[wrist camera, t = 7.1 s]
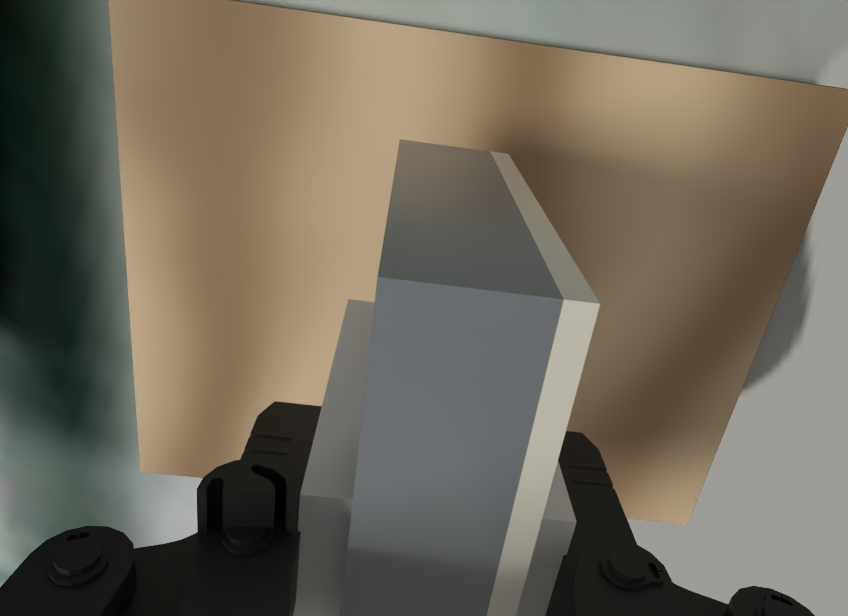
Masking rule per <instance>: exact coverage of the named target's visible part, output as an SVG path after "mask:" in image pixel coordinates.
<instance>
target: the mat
mask: <svg viewBox="0 0 848 616" xmlns="http://www.w3.org/2000/svg"><path fill="white" fill-rule="evenodd" d="M108 2H109V17H110V31H111V46H112V61H113V75H114V90H115V105H116V119H117V134H118V149H119V163H120V178H121V193H122V207H123V222H124V237H125V251H126V266H127V281H128V295H129V310H130V325H131V339H132V354H133V369H134V383H135V398H136V413H137V427H138V442H139V457H140V471H141V472H148V473H158V474H168V475H179V476H189V477H200V478H204V476H206V475H207V474H208V473H210V472H211V471H212V470H214V469H215V468H216V467H218V466H220V465H223V464H226V463H229V462H231V461H234V460H240V459H241V456H242V454H243V452H244V449H245V446H246V444H247V441H248V438H249V437H250V433H251V431H252V428H253V426H254V423H255V421H256V418H257V416H258V415H259V414H260V413H261V412H263V411H264V410H265V409H266V408H267V407H268V406H270V405H271V404H272V403H273V402H274V401H278V402H287V403H296V404H305V405H315V406H322V403H323V399H324V395H325V391H326V387H327V383H328V379H329V375H330V371H331V367H332V363H333V359H334V355H335V351H336V347H337V343H338V339H339V335H340V331H341V326H342V322H343V318H344V314H345V310H346V306H347V302H348V299H352V300H360V301H369V302H375V294H376V285H377V277H378V270H379V264H380V258H381V252H382V246H383V240H384V233H385V227H386V221H387V215H388V209H389V203H390V197H391V190H392V184H393V178H394V172H395V166H396V160H397V153H398V147H399V141H400V139H402V140H409V141H417V142H424V143H432V144H439V145H446V146H454V147H461V148H469V149H476V150H484V151H491V152H499V153H506V154H509V156H510V157H511V159H512V161H513V162H514V164H515V165H516V167H517V169H518V170H519V172H520V174H521V175H522V177H523V179H524V180H525V182H526V183H527V185H528V187H529V188H530V190H531V192H532V193H533V195H534V196H535V198H536V200H537V201H538V203H539V205H540V206H541V208H542V210H543V211H544V213H545V214H546V216H547V218H548V219H549V221H550V223H551V224H552V226H553V227H554V229H555V231H556V232H557V234H558V236H559V237H560V239H561V241H562V242H563V244H564V245H565V247H566V249H567V250H568V252H569V254H570V255H571V257H572V258H573V260H574V262H575V263H576V265H577V267H578V268H579V270H580V272H581V273H582V275H583V276H584V278H585V280H586V281H587V283H588V285H589V286H590V288H591V289H592V291H593V293H594V294H595V296H596V298H597V299H598V301H599V303H600V307H599V311H598V314H597V318H596V322H595V325H594V329H593V333H592V337H591V340H590V344H589V348H588V351H587V355H586V359H585V362H584V366H583V370H582V373H581V377H580V381H579V385H578V388H577V392H576V396H575V399H574V403H573V407H572V410H571V414H570V418H569V421H568V425H567V429H566V431H571V432H580V433H583V434H584V435H585V436H586V437H587V438H588V439H589V440H590V441H591V442H592V443H593V444H594V445H595V446H596V447H597V448H598V449H599V451H600V453H601V456H602V458H603V461H604V463H605V466H606V468H607V473H609V476H610V478H611V481H612V483H613V489H615V491H616V493H617V496H618V498H619V501H620V503H621V506H622V508H623V511H624V513H625V516H626V518H627V519H637V520H647V521H658V522H668V523H678V524H687V523H688V521H689V518H690V516H691V514H692V511H693V509H694V506H695V504H696V501H697V499H698V496H699V494H700V491H701V489H702V486H703V484H704V481H705V479H706V476H707V474H708V471H709V469H710V466H711V464H712V461H713V459H714V456H715V454H716V451H717V449H718V447H719V444H720V442H721V439H722V437H723V434H724V432H725V429H726V427H727V424H728V422H729V419H730V417H731V414H732V412H733V409H734V407H735V404H736V402H737V400H738V397H739V395H740V392H741V390H742V387H743V385H744V382H745V380H746V377H747V375H748V372H749V370H750V367H751V365H752V362H753V360H754V357H755V355H756V352H757V350H758V347H759V345H760V342H761V340H762V338H763V335H764V333H765V330H766V328H767V325H768V323H769V320H770V318H771V315H772V313H773V310H774V308H775V305H776V303H777V300H778V298H779V295H780V293H781V290H782V288H783V285H784V283H785V280H786V278H787V275H788V273H789V271H790V268H791V266H792V263H793V261H794V258H795V256H796V253H797V251H798V248H799V246H800V243H801V241H802V238H803V236H804V233H805V231H806V228H807V226H808V223H809V221H810V218H811V216H812V213H813V211H814V209H815V206H816V204H817V201H818V199H819V196H820V194H821V191H822V188H823V186H824V184H825V181H826V179H827V176H828V174H829V171H830V169H831V166H832V164H833V161H834V159H835V156H836V154H837V151H838V149H839V146H840V144H841V142H842V139H843V136H844V134H845V132H846V129H847V127H848V89H844V88H837V87H830V86H824V85H817V84H810V83H803V82H796V81H789V80H782V79H775V78H768V77H761V76H754V75H747V74H741V73H734V72H727V71H720V70H713V69H706V68H699V67H692V66H685V65H678V64H671V63H664V62H658V61H651V60H644V59H637V58H630V57H623V56H616V55H609V54H602V53H595V52H588V51H581V50H575V49H568V48H561V47H554V46H547V45H540V44H533V43H526V42H519V41H512V40H505V39H498V38H492V37H485V36H478V35H471V34H464V33H457V32H450V31H443V30H436V29H429V28H422V27H415V26H408V25H402V24H395V23H388V22H381V21H374V20H367V19H360V18H353V17H346V16H339V15H332V14H325V13H319V12H312V11H305V10H298V9H291V8H284V7H277V6H270V5H263V4H256V3H249V2H242V1H236V0H108Z"/></svg>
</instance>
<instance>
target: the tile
mask: <svg viewBox="0 0 848 616" xmlns="http://www.w3.org/2000/svg"><path fill="white" fill-rule="evenodd" d="M599 307H600V303H599V301H598V299H597V298H596V296H595V294H594V293H593V291H592V289H591V288H590V286H589V285H588V283H587V281H586V280H585V278H584V276H583V275H582V273H581V272H580V270H579V268H578V267H577V265H576V263H575V262H574V260H573V258H572V257H571V255H570V254H569V252H568V250H567V249H566V247H565V245H564V244H563V242H562V241H561V239H560V237H559V236H558V234H557V232H556V231H555V229H554V227H553V226H552V224H551V223H550V221H549V219H548V218H547V216H546V214H545V213H544V211H543V210H542V208H541V206H540V205H539V203H538V201H537V200H536V198H535V196H534V195H533V193H532V192H531V190H530V188H529V187H528V185H527V183H526V182H525V180H524V179H523V177H522V175H521V174H520V172H519V170H518V169H517V167H516V165H515V164H514V162H513V161H512V159H511V157H510V156H509V154H506V153H499V152H491V151H484V150H476V149H469V148H461V147H454V146H446V145H439V144H432V143H424V142H417V141H409V140H402V139H400V141H399V147H398V153H397V160H396V166H395V172H394V178H393V184H392V190H391V197H390V203H389V209H388V215H387V221H386V227H385V233H384V240H383V246H382V252H381V258H380V264H379V270H378V277H377V285H376V294H375V303H374V313H373V322H372V331H371V340H370V349H369V358H368V367H367V376H366V385H365V394H364V403H363V412H362V421H361V430H360V439H359V448H358V457H357V466H356V475H355V484H354V493H353V502H352V511H351V520H350V529H349V538H348V547H347V556H346V565H345V574H344V583H343V592H342V601H341V610H340V616H516V613H517V610H518V606H519V602H520V599H521V595H522V591H523V588H524V584H525V580H526V576H527V573H528V569H529V565H530V562H531V558H532V554H533V551H534V547H535V543H536V540H537V536H538V532H539V528H540V525H541V521H542V517H543V514H544V510H545V506H546V503H547V499H548V495H549V492H550V488H551V484H552V481H553V477H554V473H555V469H556V466H557V462H558V458H559V455H560V451H561V447H562V444H563V440H564V436H565V433H566V429H567V425H568V421H569V418H570V414H571V410H572V407H573V403H574V399H575V396H576V392H577V388H578V385H579V381H580V377H581V373H582V370H583V366H584V362H585V359H586V355H587V351H588V348H589V344H590V340H591V337H592V333H593V329H594V325H595V322H596V318H597V314H598V311H599Z"/></svg>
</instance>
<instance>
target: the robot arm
mask: <svg viewBox="0 0 848 616" xmlns="http://www.w3.org/2000/svg"><path fill="white" fill-rule="evenodd" d="M374 303H375V302H369V301H360V300H352V299H348V302H347V306H346V310H345V314H344V318H343V322H342V326H341V331H340V335H339V339H338V343H337V347H336V351H335V355H334V359H333V363H332V367H331V371H330V375H329V379H328V383H327V387H326V391H325V395H324V399H323V403H322V406H315V405H305V404H296V403H287V402H278V401H274V402H273V403H272V404H271V405H270V406H268V407H267V408H266V409H265V410H264V411H263V412H261V413H260V414H259V415H258V416H257V418H256V421H255V423H254V426H253V428H252V431H251V433H250V437H249V438H248V441H247V444H246V446H245V449H244V452H243V454H242V456H241V459H240V460H234V461H231V462H229V463H226V464H223V465H220V466H218V467H216V468H215V469H214V470H212V471H211V472H210V473H208V474H207V475H206V476H204V478H203V479H202V481H201V483H200V485H199V486H198V488H197V519H198V532H197V533H196V534H194V535H191V536H189V537H187V538H184V539H182V540H179V541H175V542H170V543H166V544H161V545H154V546H148V547H141V548H135V549H134V547H133V543H132V542H131V541H130V539H129V538H128V537H127V536H126V535H125V534H124V533H123V532H120V531H118V530H115V529H112V528H110V527H103V526H85V527H81V528H76V529H71V530H67V531H65V532H63V533H60V534H58V535H56V536H54V537H52V538H50V539H48V540H46V541H45V542H44V543H42V544H41V545H40V546H39V547H38V548H36V549H35V550H34V551H33V552H32V553H30V555H29V556H28V557H27V558H26V559H25V560H24V561H23V562H22V564H21V565H20V566H19V567H18V568H17V569H16V570H15V571H14V573H13V574H12V575H11V576H10V577H9V578H8V579H7V581H6V582H5V583H4V584H3V585H2V586H1V587H0V616H340V610H341V601H342V592H343V583H344V574H345V565H346V556H347V547H348V538H349V529H350V520H351V511H352V502H353V493H354V484H355V475H356V466H357V457H358V448H359V439H360V430H361V421H362V412H363V403H364V394H365V385H366V376H367V367H368V358H369V349H370V340H371V331H372V322H373V313H374ZM516 616H814V614H813V613H811V611H810V610H809V609H807V608H806V607H804V606H803V605H801V604H800V603H799V602H797V601H796V600H794V599H793V598H791V597H789V596H787V595H785V594H782V593H780V592H777V591H775V590H773V589H769V588H762V587H756V586H751V587H747V588H742V589H739V590H738V592H736V593H735V594H734V596H733V597H732V598H731V600H730V602H729V604H725V603H723V602H720V601H717V600H714V599H711V598H709V597H706V596H703V595H700V594H697V593H694V592H692V591H689V590H687V589H684V588H682V587H680V586H677V585H676V584H674V583H673V582H672V581H671V578H670V577H669V575H668V573H667V571H666V569H665V567H664V565H663V564H662V563H661V562H660V561H658V559H657V558H656V557H655V556H653V554H651V553H650V552H648V551H647V550H645V549H643V548H642V547H640V546H638V545H637V543H636V541H635V539H634V536H633V533H632V531H631V528H630V526H629V523H628V521H627V518H626V516H625V513H624V511H623V508H622V506H621V503H620V501H619V498H618V496H617V493H616V491H615V489H613V483H612V481H611V478H610V476H609V473H607V468H606V466H605V463H604V461H603V458H602V456H601V453H600V451H599V449H598V448H597V447H596V446H595V445H594V444H593V443H592V442H591V441H590V440H589V439H588V438H587V437H586V436H585V435H584V434H583V433H580V432H571V431H566V433H565V436H564V440H563V444H562V447H561V451H560V455H559V458H558V462H557V466H556V469H555V473H554V477H553V481H552V484H551V488H550V492H549V495H548V499H547V503H546V506H545V510H544V514H543V517H542V521H541V525H540V528H539V532H538V536H537V540H536V543H535V547H534V551H533V554H532V558H531V562H530V565H529V569H528V573H527V576H526V580H525V584H524V588H523V591H522V595H521V599H520V602H519V606H518V610H517V613H516Z"/></svg>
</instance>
